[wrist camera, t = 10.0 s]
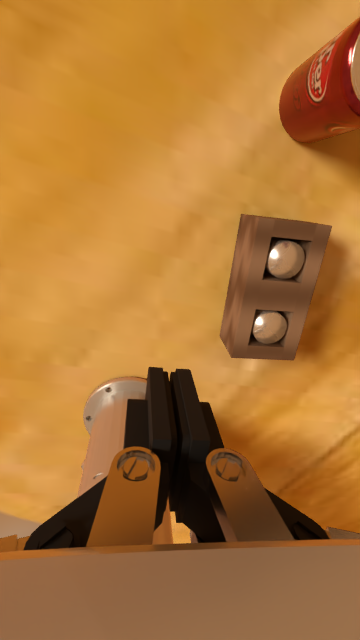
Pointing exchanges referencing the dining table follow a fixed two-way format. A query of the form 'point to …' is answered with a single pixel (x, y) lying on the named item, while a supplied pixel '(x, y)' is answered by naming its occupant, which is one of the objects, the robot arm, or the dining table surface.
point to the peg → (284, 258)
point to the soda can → (325, 90)
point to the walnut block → (270, 285)
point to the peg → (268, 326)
